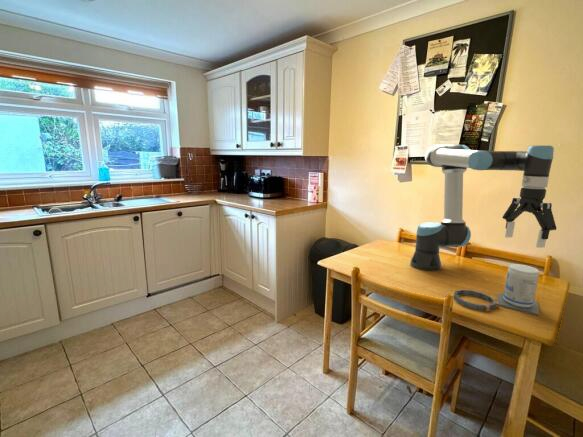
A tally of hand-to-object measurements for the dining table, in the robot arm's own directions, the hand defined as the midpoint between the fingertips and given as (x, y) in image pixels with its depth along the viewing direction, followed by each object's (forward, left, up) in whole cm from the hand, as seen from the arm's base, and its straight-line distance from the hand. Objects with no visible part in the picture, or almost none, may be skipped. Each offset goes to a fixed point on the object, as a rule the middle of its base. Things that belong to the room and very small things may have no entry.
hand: (523, 242), depth 116 cm
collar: (-13, -11, -25) cm, 30 cm away
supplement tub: (+1, -2, -25) cm, 25 cm away
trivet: (+1, -2, -25) cm, 25 cm away
